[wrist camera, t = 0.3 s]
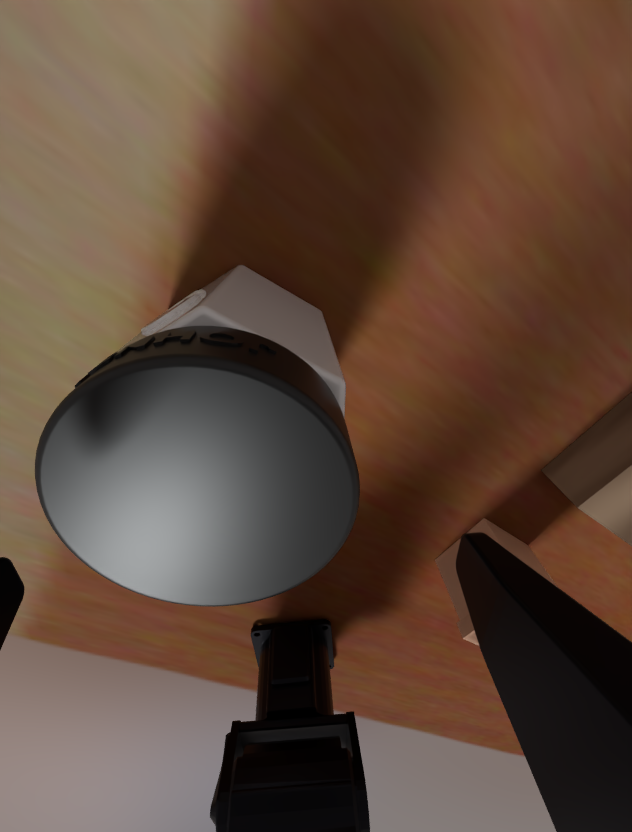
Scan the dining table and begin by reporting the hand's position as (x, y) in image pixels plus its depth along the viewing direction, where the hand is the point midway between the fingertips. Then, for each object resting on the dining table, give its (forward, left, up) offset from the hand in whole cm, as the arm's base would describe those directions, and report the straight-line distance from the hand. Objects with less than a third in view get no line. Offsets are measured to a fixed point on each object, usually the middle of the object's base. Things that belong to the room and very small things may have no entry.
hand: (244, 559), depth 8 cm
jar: (0, +1, -14) cm, 14 cm away
